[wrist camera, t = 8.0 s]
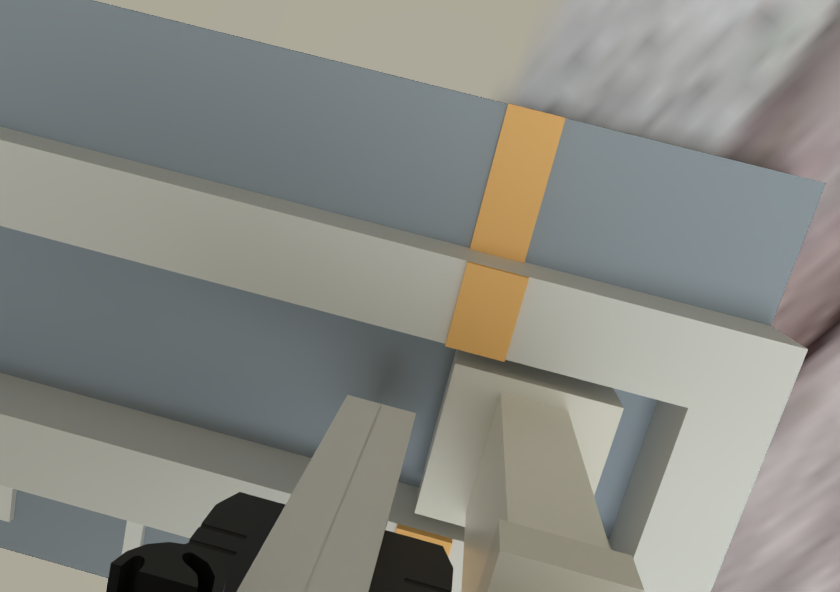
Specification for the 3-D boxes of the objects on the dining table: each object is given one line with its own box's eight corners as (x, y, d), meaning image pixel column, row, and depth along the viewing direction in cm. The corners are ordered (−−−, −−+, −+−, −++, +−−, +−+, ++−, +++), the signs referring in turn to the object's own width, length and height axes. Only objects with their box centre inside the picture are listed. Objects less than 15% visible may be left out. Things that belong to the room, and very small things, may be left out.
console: (605, 671, 22) (634, 793, 18) (-97, 473, 23) (-227, 545, 18) (789, 179, 18) (878, 188, 14) (-64, -34, 19) (-216, -83, 15)
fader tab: (564, 517, 18) (629, 826, 10) (421, 478, 18) (367, 749, 10) (610, 381, 17) (722, 597, 9) (458, 341, 17) (432, 518, 9)
